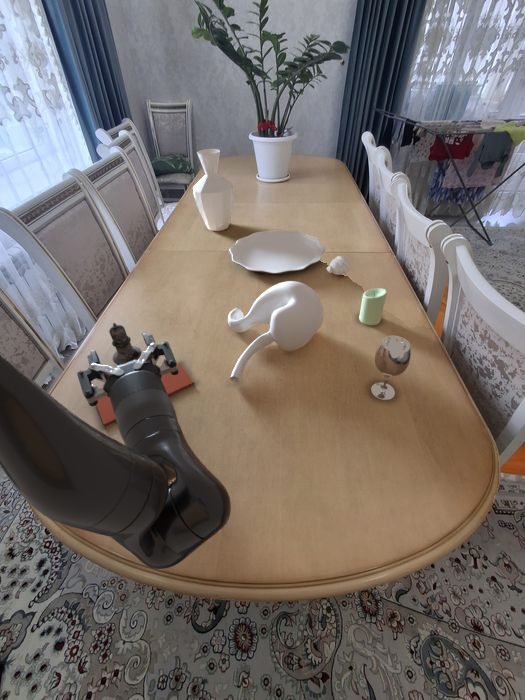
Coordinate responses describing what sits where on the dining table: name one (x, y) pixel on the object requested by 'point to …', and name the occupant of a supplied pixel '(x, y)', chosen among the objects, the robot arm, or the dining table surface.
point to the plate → (277, 251)
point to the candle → (372, 306)
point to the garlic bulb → (339, 265)
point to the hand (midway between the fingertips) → (120, 345)
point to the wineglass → (390, 363)
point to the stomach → (279, 319)
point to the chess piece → (123, 346)
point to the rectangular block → (169, 382)
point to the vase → (214, 193)
